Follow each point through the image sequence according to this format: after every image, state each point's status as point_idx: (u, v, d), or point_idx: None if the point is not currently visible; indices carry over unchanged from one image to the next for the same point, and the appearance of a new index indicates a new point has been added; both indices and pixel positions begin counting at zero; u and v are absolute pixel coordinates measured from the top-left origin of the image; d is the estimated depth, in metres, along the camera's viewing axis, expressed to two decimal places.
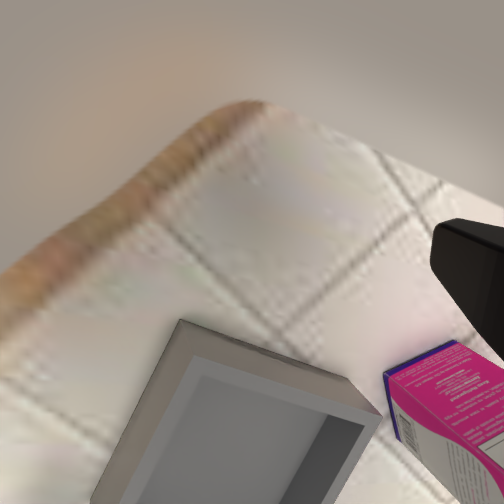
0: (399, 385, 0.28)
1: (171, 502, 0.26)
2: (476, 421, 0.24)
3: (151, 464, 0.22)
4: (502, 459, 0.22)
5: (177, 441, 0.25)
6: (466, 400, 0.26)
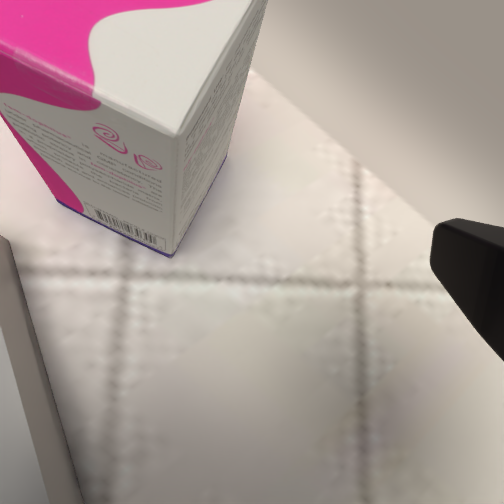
0: (47, 184, 0.19)
1: None
2: None
3: None
4: None
5: None
6: None
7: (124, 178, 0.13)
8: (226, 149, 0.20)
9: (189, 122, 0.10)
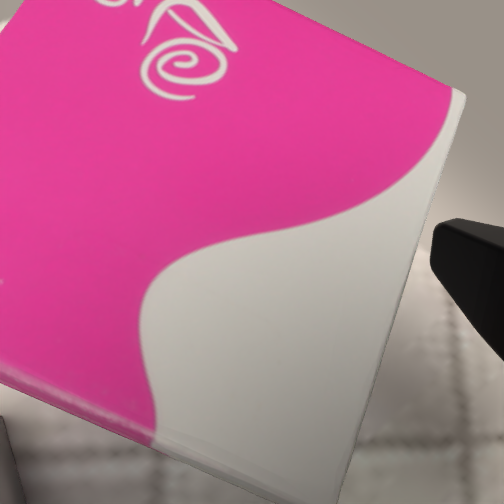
0: None
1: None
2: None
3: None
4: None
5: None
6: None
7: None
8: None
9: None
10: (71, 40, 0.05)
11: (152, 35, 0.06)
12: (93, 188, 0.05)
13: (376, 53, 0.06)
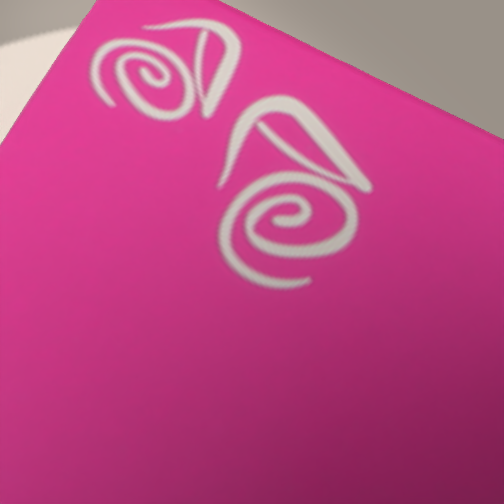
0: None
1: None
2: None
3: None
4: None
5: None
6: None
7: None
8: None
9: None
10: (101, 185, 0.03)
11: (233, 168, 0.03)
12: (148, 481, 0.03)
13: None
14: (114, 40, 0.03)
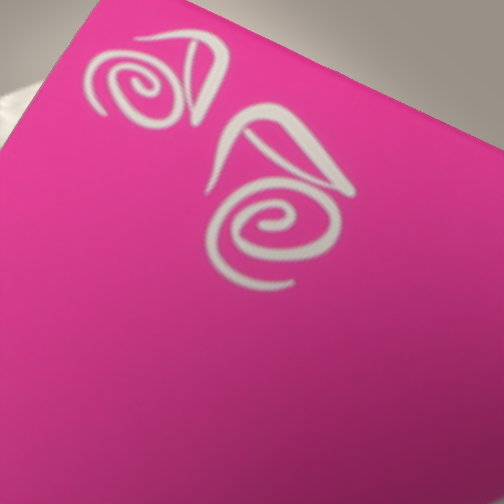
0: None
1: None
2: None
3: None
4: None
5: None
6: None
7: None
8: None
9: None
10: (93, 192, 0.03)
11: (221, 174, 0.03)
12: (136, 472, 0.03)
13: None
14: (105, 52, 0.04)
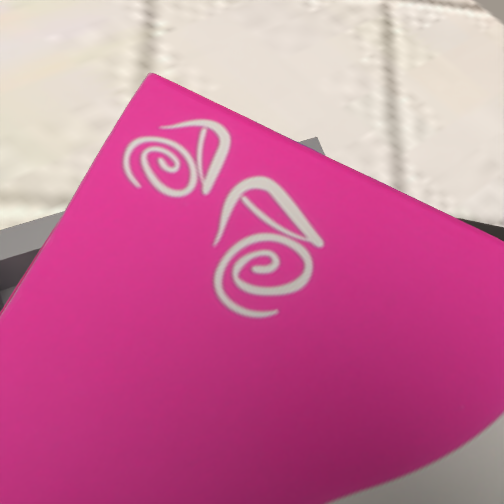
0: None
1: None
2: None
3: None
4: None
5: None
6: None
7: None
8: None
9: None
10: (132, 245, 0.05)
11: (225, 232, 0.05)
12: (166, 446, 0.04)
13: (477, 235, 0.05)
14: (139, 137, 0.05)
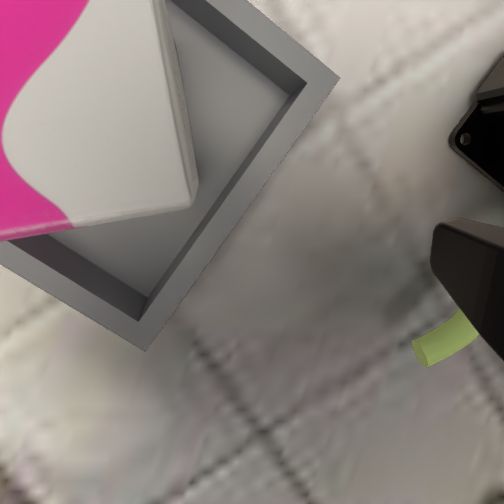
0: None
1: (175, 221, 0.19)
2: None
3: (4, 246, 0.15)
4: None
5: None
6: None
7: None
8: None
9: (190, 174, 0.08)
10: None
11: None
12: None
13: None
14: None
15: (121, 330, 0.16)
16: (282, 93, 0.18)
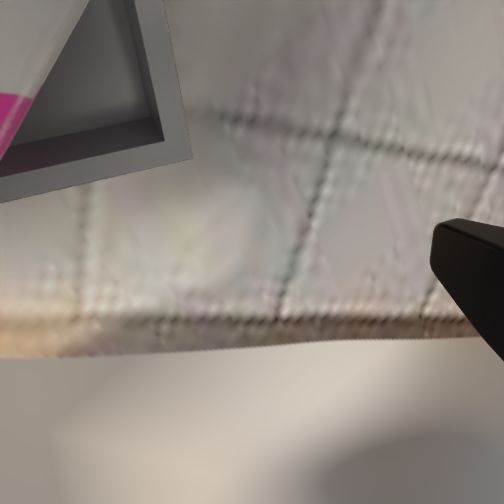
0: None
1: (103, 25, 0.16)
2: None
3: (5, 183, 0.14)
4: None
5: None
6: None
7: None
8: None
9: None
10: None
11: None
12: None
13: None
14: None
15: (158, 159, 0.15)
16: None
